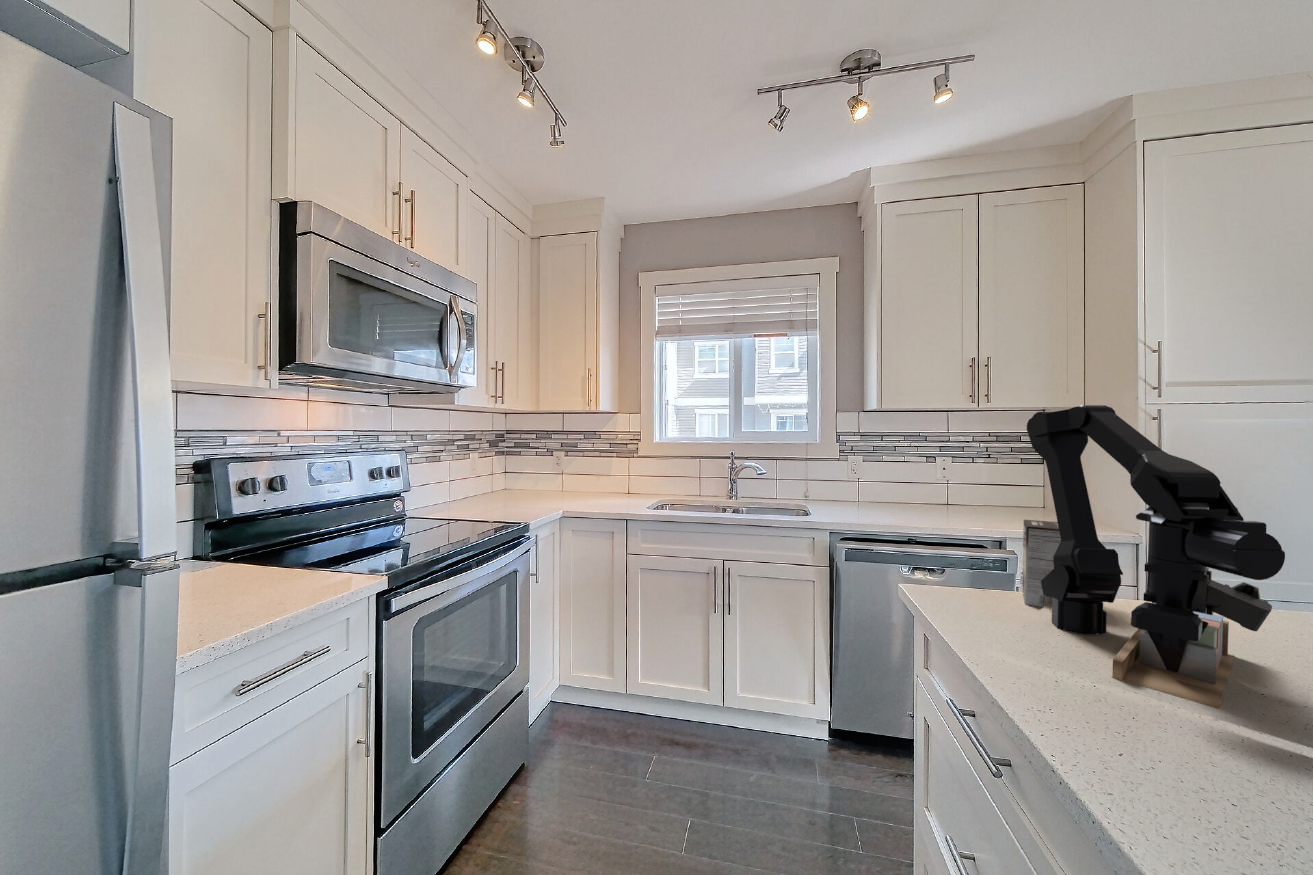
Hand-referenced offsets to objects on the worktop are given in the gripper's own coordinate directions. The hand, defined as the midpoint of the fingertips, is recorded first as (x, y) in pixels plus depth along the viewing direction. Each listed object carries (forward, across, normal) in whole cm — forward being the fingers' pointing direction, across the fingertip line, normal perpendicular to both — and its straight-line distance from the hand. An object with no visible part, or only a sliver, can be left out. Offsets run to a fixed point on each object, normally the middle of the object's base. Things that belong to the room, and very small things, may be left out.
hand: (1172, 670), depth 71 cm
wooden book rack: (+2, +6, 0) cm, 6 cm away
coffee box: (+2, +28, +22) cm, 35 cm away
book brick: (+1, +10, 0) cm, 10 cm away
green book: (+1, +5, 0) cm, 5 cm away
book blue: (+1, +14, 0) cm, 14 cm away
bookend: (+1, +3, 0) cm, 3 cm away
